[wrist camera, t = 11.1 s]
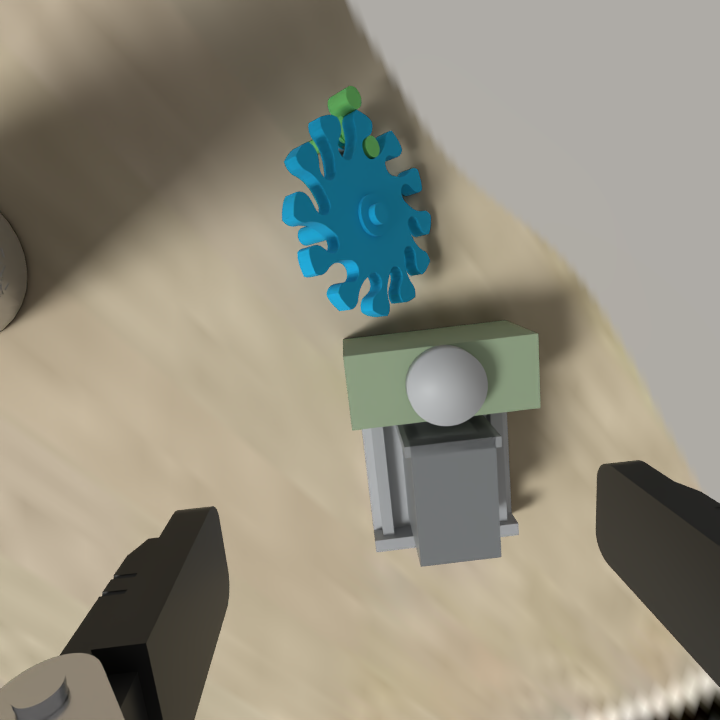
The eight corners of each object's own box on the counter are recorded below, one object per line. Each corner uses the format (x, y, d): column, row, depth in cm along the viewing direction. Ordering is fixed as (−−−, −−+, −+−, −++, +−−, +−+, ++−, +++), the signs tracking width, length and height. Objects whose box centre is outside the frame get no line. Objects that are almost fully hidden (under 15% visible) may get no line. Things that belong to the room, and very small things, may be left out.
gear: (447, 309, 27) (315, 322, 20) (371, 317, 31) (239, 330, 24) (430, 109, 26) (285, 48, 19) (354, 144, 30) (212, 105, 23)
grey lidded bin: (393, 415, 29) (404, 447, 24) (474, 405, 29) (501, 436, 24) (403, 517, 31) (415, 567, 26) (480, 508, 31) (506, 556, 26)
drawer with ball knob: (366, 533, 32) (372, 595, 26) (343, 339, 29) (343, 361, 23) (514, 515, 32) (552, 573, 26) (505, 320, 29) (546, 337, 23)
